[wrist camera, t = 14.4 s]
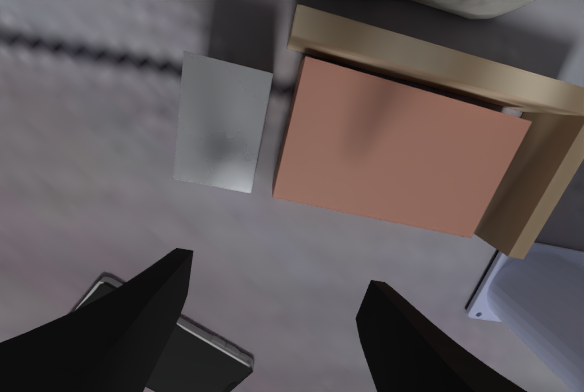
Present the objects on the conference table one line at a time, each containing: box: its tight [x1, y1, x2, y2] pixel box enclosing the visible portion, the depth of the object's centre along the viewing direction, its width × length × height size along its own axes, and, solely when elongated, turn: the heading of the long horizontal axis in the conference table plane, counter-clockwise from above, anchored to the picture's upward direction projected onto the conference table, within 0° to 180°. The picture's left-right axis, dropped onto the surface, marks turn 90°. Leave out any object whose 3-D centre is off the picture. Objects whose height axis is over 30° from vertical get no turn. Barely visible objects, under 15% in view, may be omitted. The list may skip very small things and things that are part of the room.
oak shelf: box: [287, 4, 584, 260], centre depth 17 cm, size 18×10×4 cm, turn 77°
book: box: [272, 56, 532, 238], centre depth 18 cm, size 14×8×3 cm, turn 76°
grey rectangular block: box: [173, 51, 273, 193], centre depth 15 cm, size 4×6×4 cm, turn 167°
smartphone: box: [75, 277, 254, 392], centre depth 23 cm, size 8×1×15 cm
